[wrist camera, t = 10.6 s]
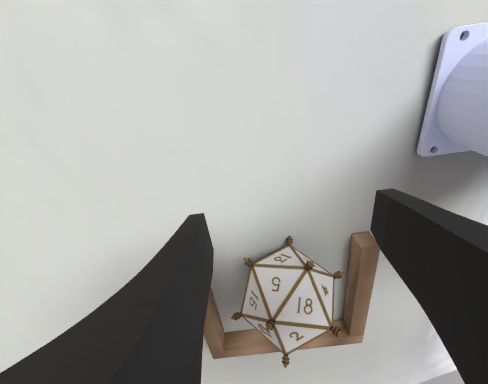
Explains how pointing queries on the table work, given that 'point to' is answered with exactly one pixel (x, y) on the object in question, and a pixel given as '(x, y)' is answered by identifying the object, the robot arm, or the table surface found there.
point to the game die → (289, 299)
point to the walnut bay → (351, 325)
